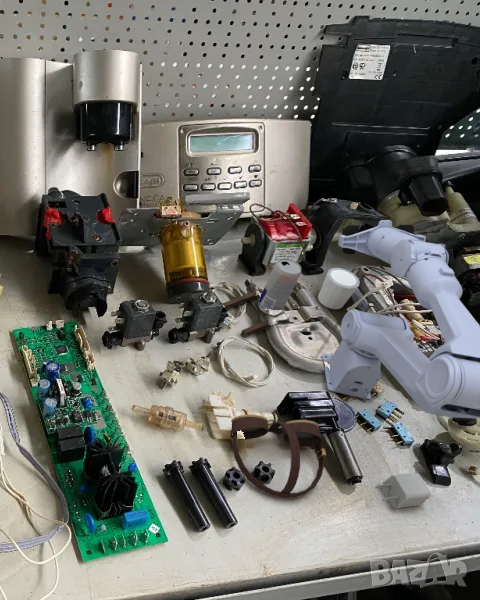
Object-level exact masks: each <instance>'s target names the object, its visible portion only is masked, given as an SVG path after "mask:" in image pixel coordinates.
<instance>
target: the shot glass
mask: <svg viewBox="0 0 480 600" xmlns="http://www.w3.org/2000/svg"><path fill="white" fill-rule="evenodd" d="M360 283H361V282H360V279H359V277H358V276H357V275H356V274H355V273H353V272H352V271H351V270H349V269H346V268H341V267H331V268H330V269H328V271H327V273H326V276H325V278H324V280H323V283H322V285H321V287H320V290H319V293H318V295H317V299H318V301H319V303H320V304H321V305H322V306H324V307H325V308H328V309H331V310H340V309H342V308H343V307H344V306H345V304H346V303H347V302H348V300H349V299H351V297H352V295H353V294H354V293H355V291H356V290H357V289H358V287H359V286H360Z"/></svg>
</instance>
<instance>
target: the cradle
mask: <svg viewBox="0 0 480 600" xmlns="http://www.w3.org/2000/svg"><path fill="white" fill-rule="evenodd" d="M257 290H258V291H259V292H260V293H262V292H263V290H264V289H262V288H259V289H257ZM255 295H256V290H254V291H251V292H248V293H245V294H244V295H241V296H239V297H236V298H233V299H230V300H228V301H225V302H222V303H221V304H223V305H224V306H225V308H226V310H225V311H228V310H230V309H233V308H235V307H238V306H241V305H243V304H245V303H249V302H250V301H254V300H256V299H260V297H259V295H257V296H255ZM283 322H284V321H279V323H278V324H280V323H283ZM268 324H269V323H268V319H266V320H263V321H261V322H259V323H256V324H254V325H251V326H248V327H247V328H244V329H242V330H241V333H240V336H241V338H243V339H244V338H247V337H249V336H252V335H254V334H256V333H259V332H262V331H263V330H266V329H269V328H270V327H272V326H271V325H268Z"/></svg>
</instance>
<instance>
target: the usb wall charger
mask: <svg viewBox="0 0 480 600" xmlns="http://www.w3.org/2000/svg"><path fill="white" fill-rule="evenodd" d="M374 489H382V491H384V494H385V495H386V497H383V498H382V500H381V501H383V502H384V501H385V502H386V501H389V502H390V504H391V506H392V507H394V508H395V509H397V508H399V509H400V508H406V507H415V506H421V505H422V504H424V503H425V502H426V501H427V500H428V499H430V497H431V496H432V492H431V490H430V489H429V487H428V486H427V483H426V482H425V481H424V480H423V477H422V476H421V474H419V472H411V473H409V472H408V473H401V474H392V475H389V477H388V478H387V479H386V480H385V481H384V482H383V483H382V484H378V485H376V486H375V488H374Z"/></svg>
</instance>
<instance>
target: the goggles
mask: <svg viewBox="0 0 480 600" xmlns="http://www.w3.org/2000/svg"><path fill="white" fill-rule="evenodd" d="M230 420H231V421H230V423H231V422H232V424H231V425H232V430H231V429H230V435H229V438H231V439H232V441H231V442H232V443H231V444H232V445H231V446H232V447H231V448H232V452H233V456H234V460H235V462H236V464H237V466H238V468H239V470H240V471H241V473H242V474H243V476H244V477H245V478H246V480H247V481H248V482H249V483H251V484H252V485H253V486H254V487H256V488H257V489H258V490H261V492H264V493H265V494H268V495H270V496H274V497H278V498H282V499H294V498H299V497H301V496H304V495H307V494H308V493H309V492H311V491H312V490H313V489H315V488H316V486H317V485H318V483H319V481H321V478H322V476H323V472H324V468H325V463H326V462H325V458H326V457H327V452H326V448H324V447H323V444H324V439H323V437H322V436H323V435H322V433H321V431H320V429H319V428H320V426H319V424H318V422H315V421H314V420H309V419H295V420H289V421H286V422H284V421H283V422H281V421H279V422H277V421H276V420H275V419H269V420H268V418H267V417H265V416H263V415H259V414H249V413H248V414H241V415H237V416H235V417H233V418H231V419H230ZM269 422H273V423H272V424H271V425H270V426H269ZM240 430H241V431H242V432H244V433H243V434H244V437H245V440H244V441H247V440H253V439H259V438H261V437H264V436H265V435H267V434H268V433H273V434H278V435H281V438H282V440H283V441H284V442H285V443H287V444H288V445H289V446H290V469H289V474H288V477H287V481H286V483H285V485H284V487H283V489H282V490H281V491H278V490H274V489H272V488H270V487H268V486H266V485H264V484H263V483H262V482H261V481H259V480H258V479H257V478H256V477H254V475H252V473H251V472H250V471H249V469H248V468H247V467H246V466H245V464H244V461H243V459H242V456H241V455H240V451H239V446H238V440H237V431H240ZM232 434H233V435H232ZM313 447H315V450H316V451H315V457H316V458H315V459H316V460H317V467H318V468H317V471H316V474H315V478H314V479H313V480H312V482H311V484H310V485H309V486H308V487H306V488H305V489H304V490H301V491H299V492H293V491H294V489H295V487H296V485H297V482H298V478H299V475H300V470H301V448H313Z"/></svg>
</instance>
